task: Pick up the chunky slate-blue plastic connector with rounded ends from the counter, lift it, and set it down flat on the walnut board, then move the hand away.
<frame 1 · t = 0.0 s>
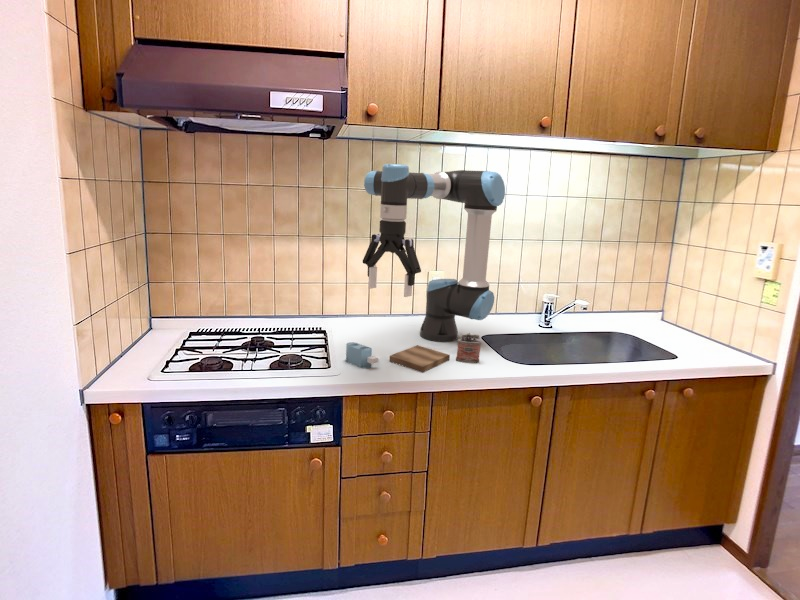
hand: (389, 292, 148), 28 cm above the worktop, tool pointing down, fingers open, 13 cm apart
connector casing: (358, 363, 167), on the worktop
lighter: (467, 361, 174), on the worktop
walnut board: (419, 360, 172), on the worktop
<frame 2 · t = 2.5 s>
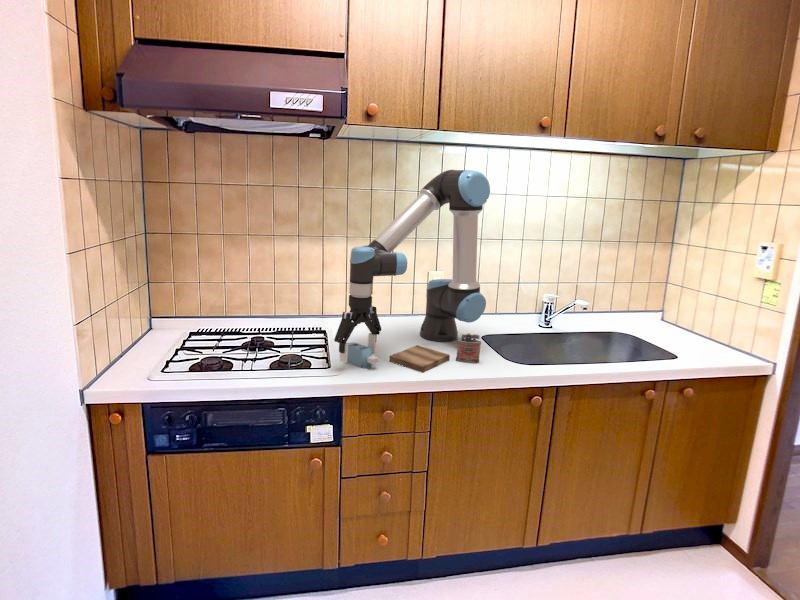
hand: (357, 356, 166), 2 cm above the worktop, tool pointing down, fingers open, 13 cm apart
nothing on the worktop moved.
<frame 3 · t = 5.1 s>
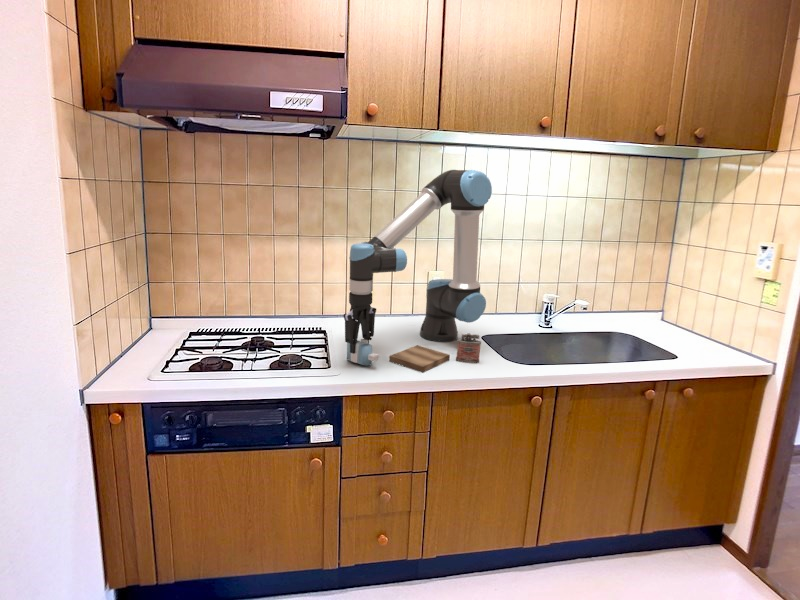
hand: (359, 359, 167), 1 cm above the worktop, tool pointing down, fingers closed on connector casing, 4 cm apart
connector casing: (359, 360, 167), point 1 cm above the worktop, touching gripper
everything else where it was.
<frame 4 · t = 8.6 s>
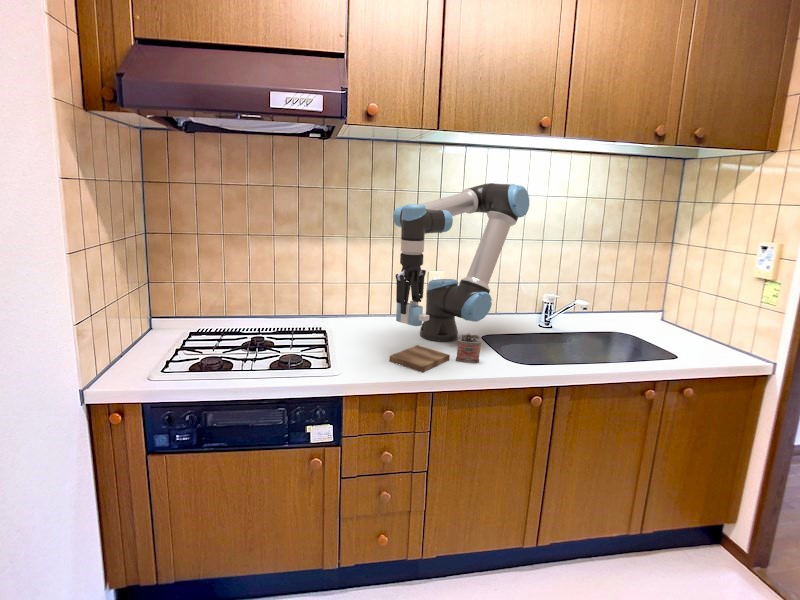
hand: (408, 321, 168), 14 cm above the worktop, tool pointing down, fingers closed on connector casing, 4 cm apart
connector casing: (408, 322, 168), point 14 cm above the worktop, touching gripper
everything else where it was.
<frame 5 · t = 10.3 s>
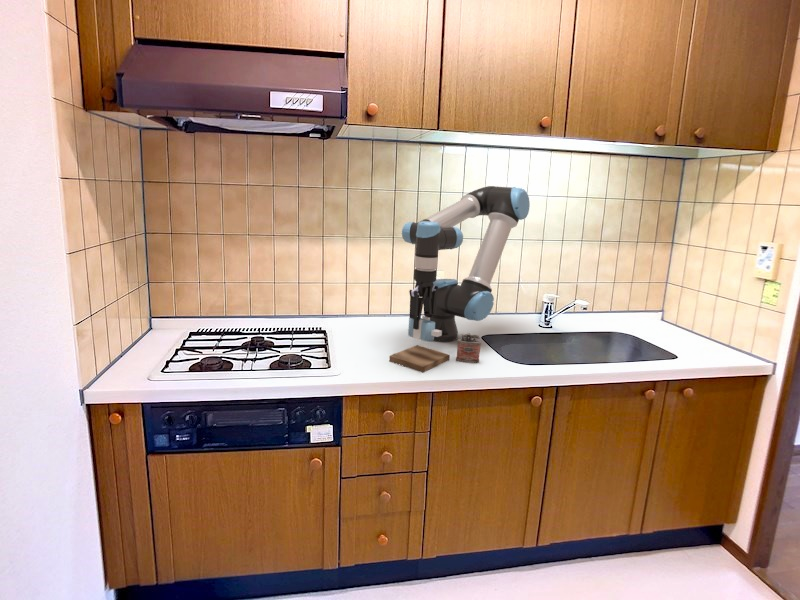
hand: (420, 336, 170), 9 cm above the worktop, tool pointing down, fingers closed on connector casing, 4 cm apart
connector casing: (420, 337, 170), point 9 cm above the worktop, touching gripper
everything else where it was.
when the fingers open (3 cm above the worktop, at t = 12.0 s): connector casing stays where it is, resting on walnut board.
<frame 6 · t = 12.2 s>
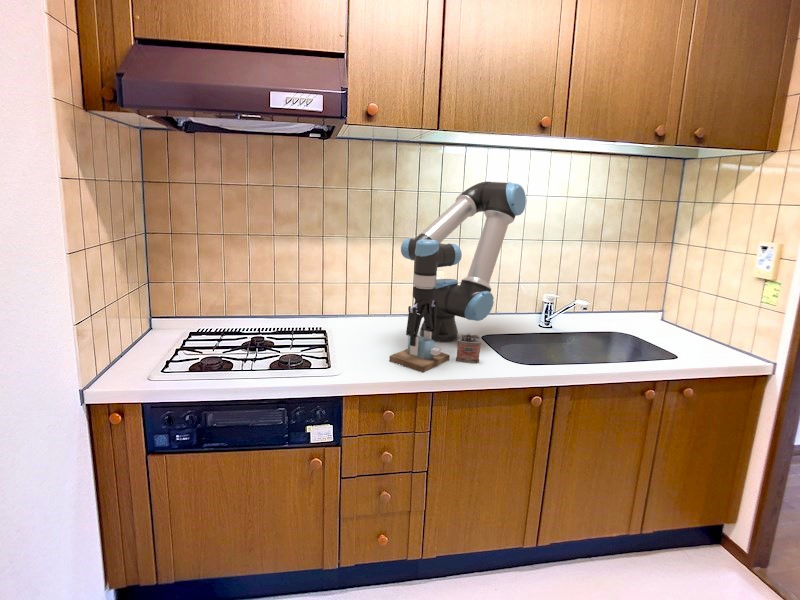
hand: (420, 351, 171), 3 cm above the worktop, tool pointing down, fingers open, 7 cm apart
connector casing: (420, 355, 172), point 2 cm above the worktop, touching walnut board
everything else where it was.
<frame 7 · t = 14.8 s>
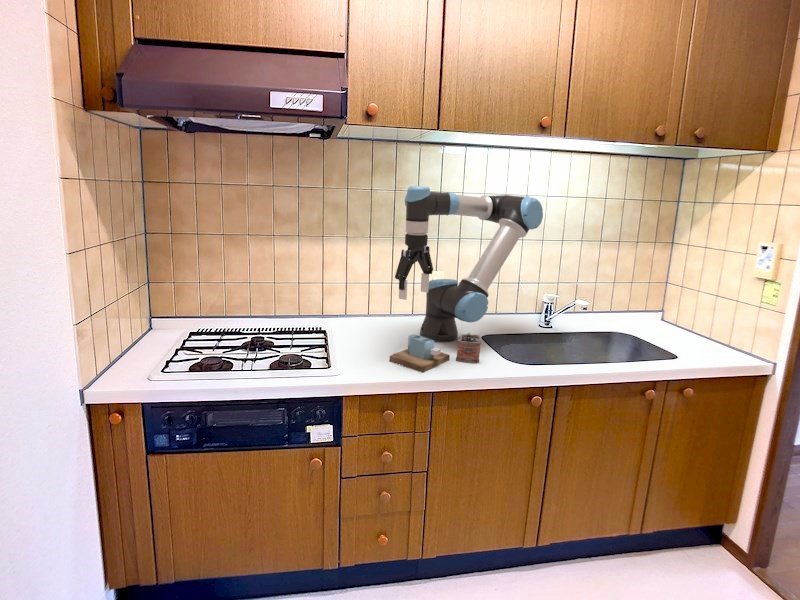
hand: (413, 295, 171), 22 cm above the worktop, tool pointing down, fingers open, 13 cm apart
nothing on the worktop moved.
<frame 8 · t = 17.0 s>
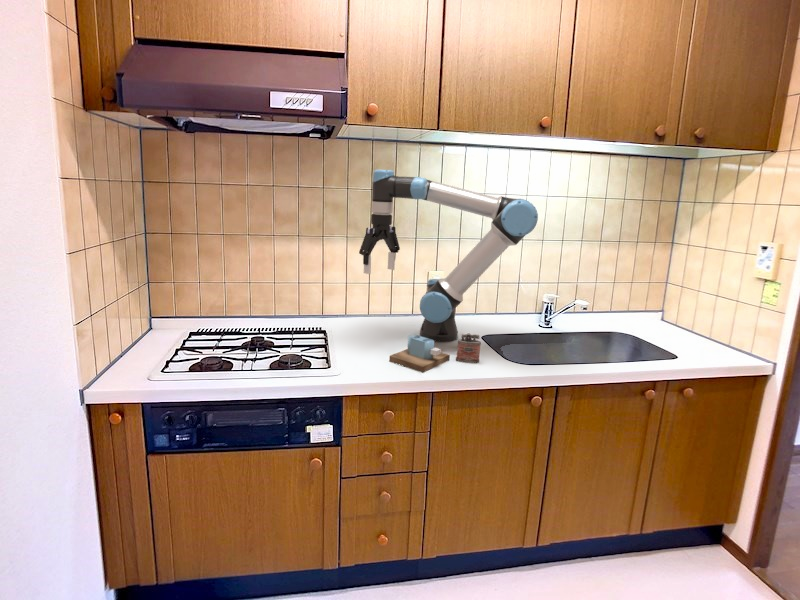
hand: (379, 271, 185), 27 cm above the worktop, tool pointing down, fingers open, 13 cm apart
nothing on the worktop moved.
at the end: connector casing inside the target area on the walnut board (0.0 cm from its centre), point 2.0 cm above the walnut board's base; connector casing tilted 0°; the gripper is holding nothing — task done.
